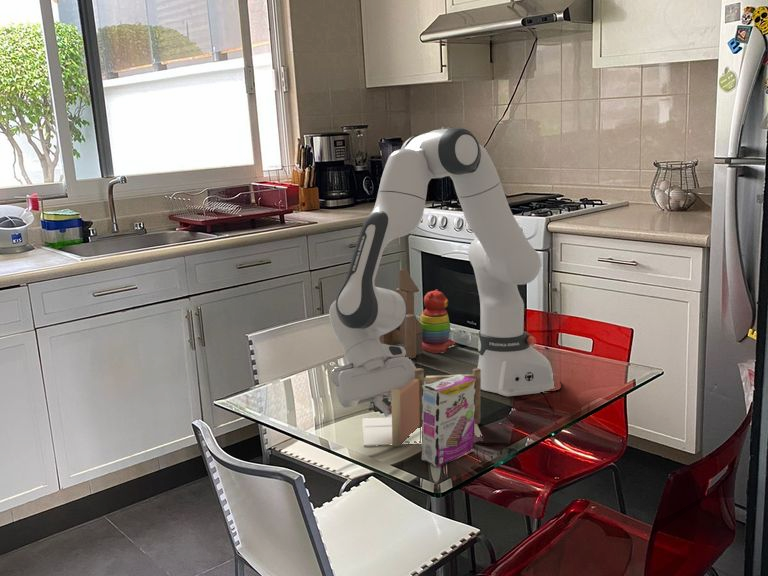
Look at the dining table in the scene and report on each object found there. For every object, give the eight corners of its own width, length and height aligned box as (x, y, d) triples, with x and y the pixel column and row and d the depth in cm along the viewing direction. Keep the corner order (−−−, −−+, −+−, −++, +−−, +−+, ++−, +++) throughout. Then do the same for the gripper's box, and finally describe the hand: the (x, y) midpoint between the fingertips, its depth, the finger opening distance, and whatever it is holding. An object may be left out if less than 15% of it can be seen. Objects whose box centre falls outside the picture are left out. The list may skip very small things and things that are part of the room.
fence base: (479, 422, 177) (480, 366, 174) (481, 425, 175) (481, 369, 172) (414, 424, 176) (414, 368, 173) (415, 428, 174) (415, 371, 171)
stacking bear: (442, 354, 228) (442, 296, 224) (412, 350, 233) (412, 292, 229) (458, 345, 237) (458, 289, 233) (429, 341, 242) (429, 286, 238)
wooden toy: (375, 348, 235) (373, 268, 230) (391, 344, 239) (390, 265, 234) (410, 359, 224) (409, 275, 218) (426, 354, 228) (426, 272, 223)
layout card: (472, 415, 180) (472, 414, 180) (485, 443, 165) (485, 441, 165) (362, 420, 179) (362, 418, 179) (364, 448, 164) (364, 446, 164)
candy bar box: (437, 469, 153) (437, 391, 150) (420, 461, 157) (420, 384, 154) (476, 452, 161) (476, 378, 157) (458, 445, 164) (459, 372, 161)
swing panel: (413, 424, 174) (412, 373, 171) (420, 425, 173) (420, 374, 170) (390, 445, 163) (390, 391, 160) (398, 447, 162) (397, 392, 160)
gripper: (332, 361, 166) (356, 418, 160) (409, 345, 177) (435, 398, 171) (323, 376, 170) (346, 431, 164) (399, 359, 181) (423, 411, 175)
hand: (392, 414), depth 168 cm, fingers closed
